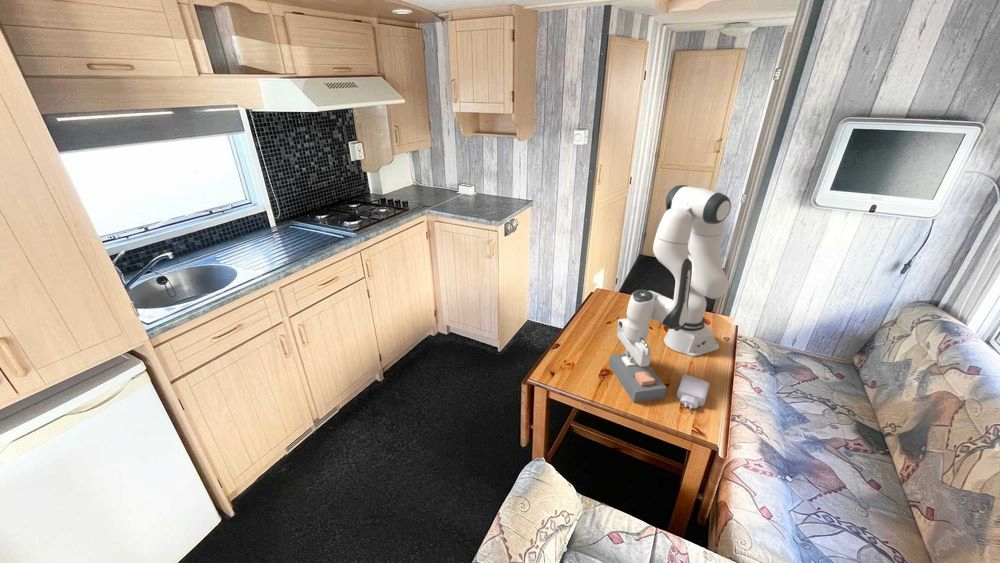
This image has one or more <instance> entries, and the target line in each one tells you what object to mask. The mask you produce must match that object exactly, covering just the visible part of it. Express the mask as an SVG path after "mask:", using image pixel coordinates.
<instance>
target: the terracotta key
mask: <svg viewBox="0 0 1000 563" xmlns="http://www.w3.org/2000/svg"><path fill="white" fill-rule="evenodd" d="M635 379H636V381H637V382H638V384H639V385H640V386H641V387H644V386H651V385H654V382H655V379H654V378H653V377H652V375H651V374H650V373H649V372H648V371H644V372H636V373H635Z"/></svg>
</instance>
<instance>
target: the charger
mask: <svg viewBox="0 0 1000 563" xmlns="http://www.w3.org/2000/svg"><path fill="white" fill-rule="evenodd" d="M709 388H710V383H709V382H708V381H707V380H704V379H701V378H697V377H695V376H692V375H689V374H683V375H682V378H681V380H680V383H679V386H678V388H677V393H676V397H677V398H678V399H679V400H680V403H681V404H682V405H683V406H684V408H689V409H690V410H692V409H696V408H699V407H703V406H705V404H706V401H707V397H708V396H707V395H708V392H709Z"/></svg>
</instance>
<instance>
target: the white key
mask: <svg viewBox="0 0 1000 563" xmlns="http://www.w3.org/2000/svg"><path fill="white" fill-rule="evenodd" d="M621 360H622V361H623V362H624V364H625V365H626V367H632V366H639V365H638V364H637V362H636V361H635V360H634V362H632V363H630V362H629V361H628V359H627V358H626V357H622V358H621Z"/></svg>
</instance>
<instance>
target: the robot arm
mask: <svg viewBox="0 0 1000 563" xmlns="http://www.w3.org/2000/svg"><path fill="white" fill-rule="evenodd" d="M731 208H732V203H731V200H730V198H729V196H727V195H726V194H724V193H723V192H722V193H721V192H717V191H714V190H710V189H707V188H703V187H696V186H688V185H686V184H685V185H684V184H680V185H676V186H673V187H672V188H671V189H670V190H669V191H668V193H667V195H666V197H665V209H666V210H665V212H664V214H663V216H662V218H661V220H660V222H659V224H658V227H657V229H656V233H655V237H654V241H653V245H652V253H653V255H654V257H655V258H656V259H657V261H658V262H659V263H660V264H661V265H663V266H664V267H665V268H666V269H667V270H669V272H670V273H671V274H672V275H673V277H674V280H675V283H674V284H675V285H674V291H673V292H674V293H673V299H672V298H670V297H667V296H666V295H665V296H664V295H662V294H661V293H658V292H655V291H653V290H647V289H637V290H635V291H634V292H632V293H631V296H630V298H629V301H628V304H627V308H626V309H627V310H626V318H620V319H618V320H617V328H616V337H617V339H618V340H619V341H620V343H621V344H622V345H623V346H624V347H625V352H626V353H627V356H626V358H627V359H628V361H629V362H630V363H632V362H634V360H635V361H636V362H637V364H638V365H639V366H640V367H642V366H648V365H649V366H650V363H651V356H652V354H651V353H652V352H651V348H650V346H649V344H648V343H646V340H647V339H648V336H649V330H650V325H651V324H650V322H651V320H653V321H655V322H658V323H660V324H662V325H663V326H665V327H666V328H668V330H667V332H666V334H665V336H664V337H663V343H664V344H665V345H666V346H667V347H668V348H669V349H671V350H672V351H675V352H678V353H681V354H684V355H687V356H690V357H693V358H695V357H699V356H701V355H704V354H708V353H711V352H714V351H717V350H719V349H720V345H719V343H718V341H717V340H716V337H715V332H714V331H713V330H712V329H711V328H710V327H709V325H711V324H712V322H711V320H709V319H708V318H705V316H704V315H705V313H706V308H707V299H706V297H707V298H708V299H712V300H716V299H719V298H721V297H723V296H724V295H725V294H726V293H727V291H728V289H729V287H730V281H729V279H728V278H727V276H726V273H725V272H724V268H723V264H722V259H721V258H722V257H721V246H722V240H723V235H724V231H725V230H724V229H725V220H726V219H727V217H728V216H729V214H730V212H731ZM688 252H689V254H688Z"/></svg>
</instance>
